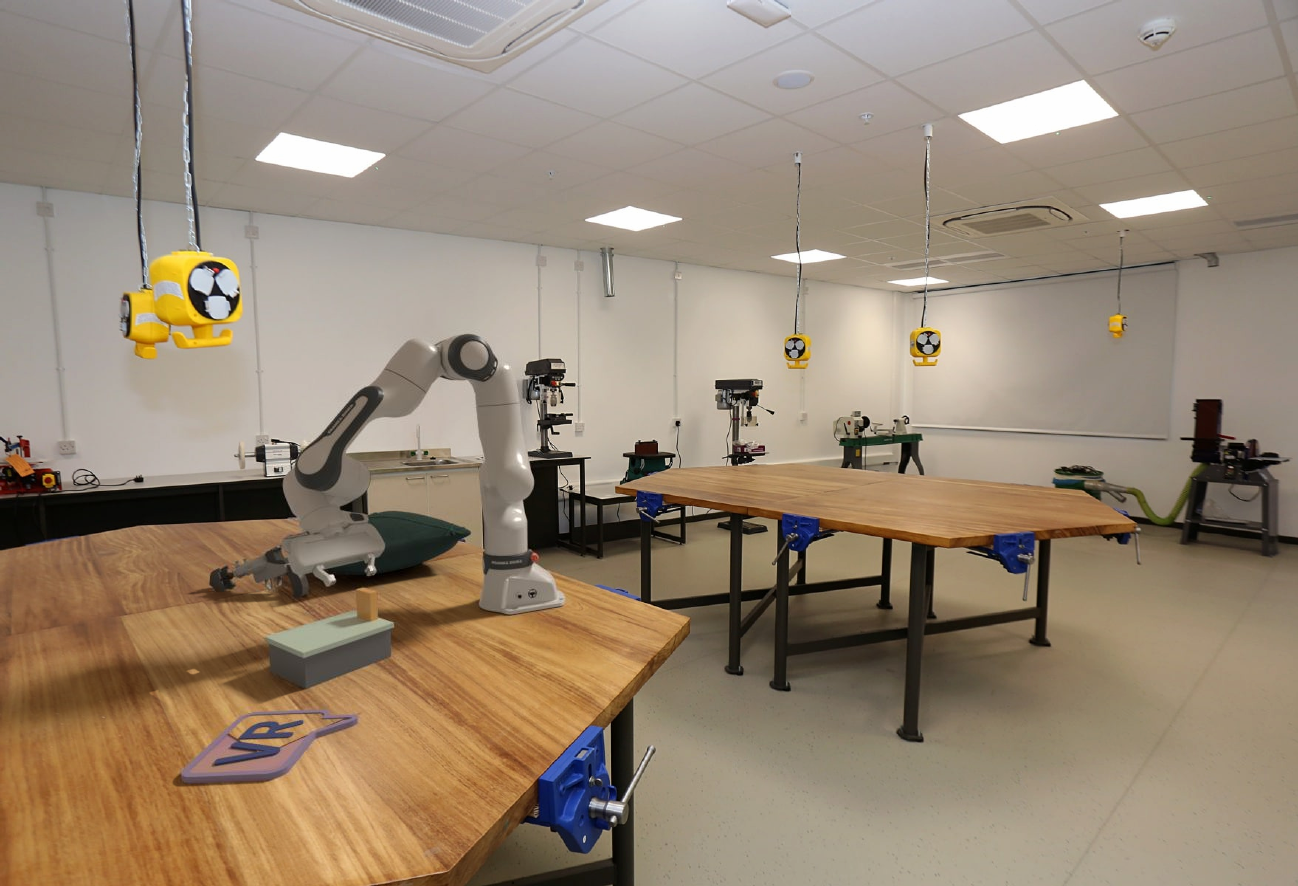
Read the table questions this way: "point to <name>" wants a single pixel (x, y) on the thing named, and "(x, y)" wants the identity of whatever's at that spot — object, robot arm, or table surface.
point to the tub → (330, 660)
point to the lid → (334, 628)
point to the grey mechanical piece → (261, 573)
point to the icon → (242, 760)
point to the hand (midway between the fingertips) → (352, 579)
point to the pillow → (407, 541)
